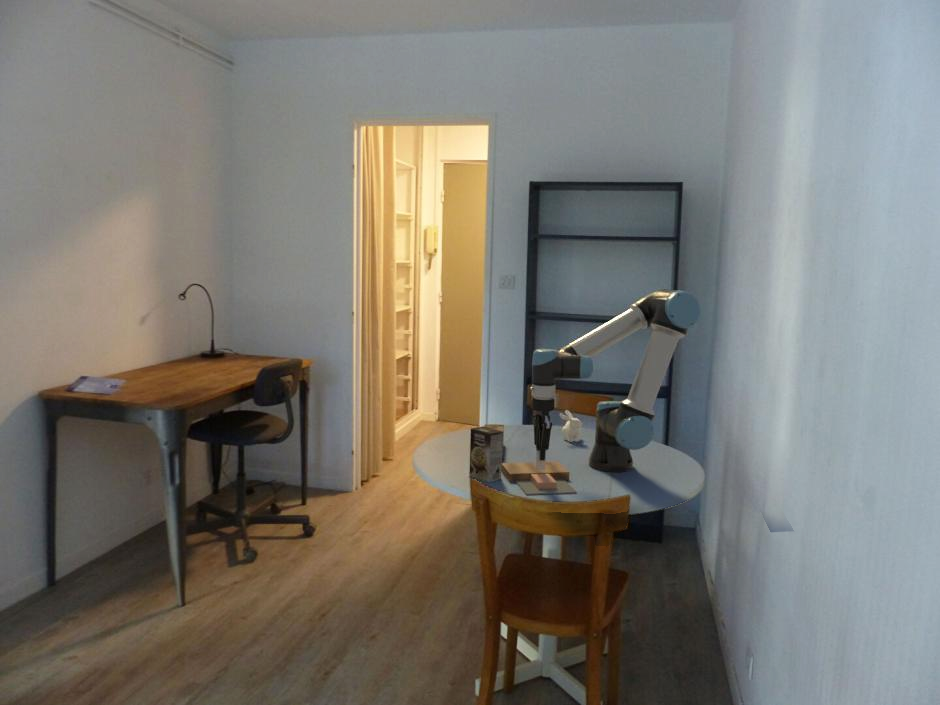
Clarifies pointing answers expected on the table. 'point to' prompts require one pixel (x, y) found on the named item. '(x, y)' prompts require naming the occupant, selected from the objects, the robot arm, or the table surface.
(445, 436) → the table surface
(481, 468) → the coffee box
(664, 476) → the table surface
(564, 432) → the rabbit
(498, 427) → the block tower
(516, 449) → the table surface
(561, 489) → the mat
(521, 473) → the brown wooden board
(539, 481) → the salmon orange flat block
